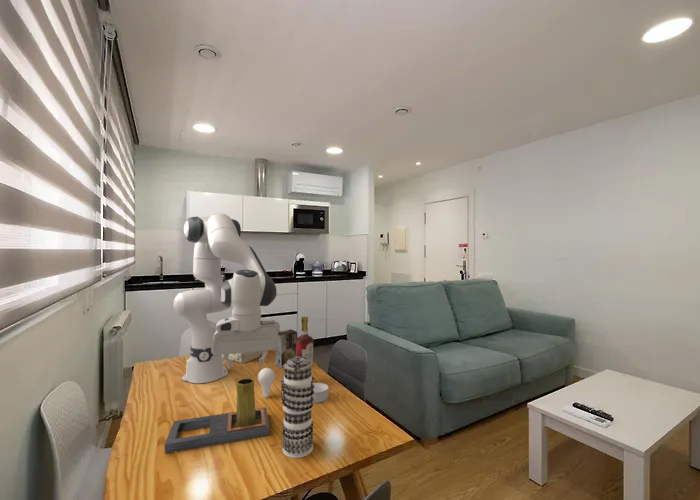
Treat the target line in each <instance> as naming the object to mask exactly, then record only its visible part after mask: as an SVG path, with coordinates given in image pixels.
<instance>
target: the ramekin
mask: <svg viewBox="0 0 700 500" xmlns="http://www.w3.org/2000/svg"><path fill="white" fill-rule="evenodd" d="M312 384H313V385H314V388H313V391H314V394H313V395H312V397H313V399H314V400H313V402H312V404H319V403H323V402H325V401H327V400H328V396H329V387H330V386H329V385H328V384H326V383H323V382H312Z"/></svg>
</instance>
